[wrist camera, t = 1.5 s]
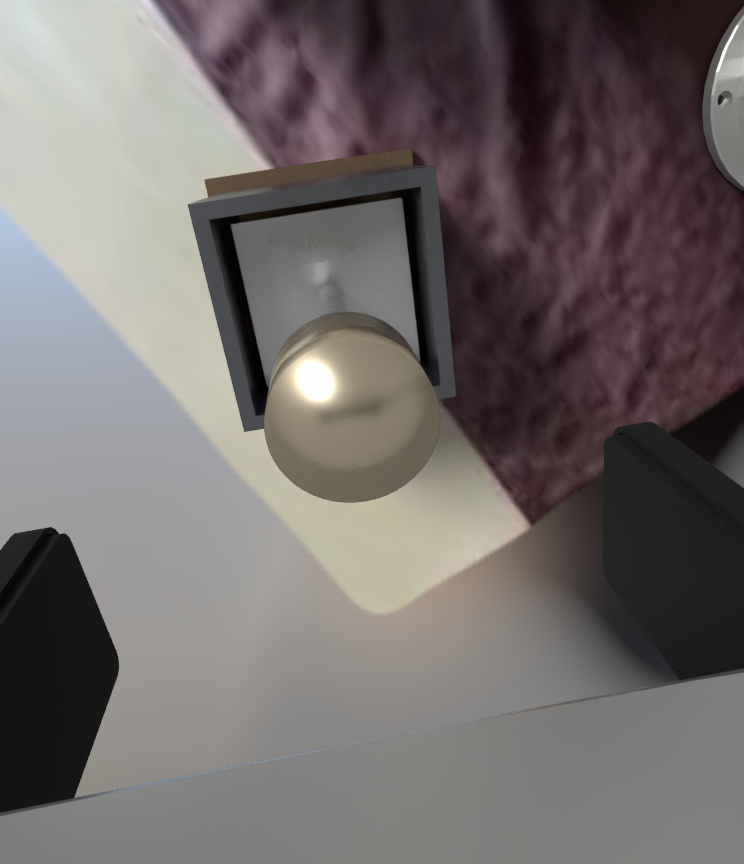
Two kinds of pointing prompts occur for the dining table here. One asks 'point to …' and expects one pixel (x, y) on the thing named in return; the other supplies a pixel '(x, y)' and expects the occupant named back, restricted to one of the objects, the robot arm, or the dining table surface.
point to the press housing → (313, 192)
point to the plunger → (339, 348)
